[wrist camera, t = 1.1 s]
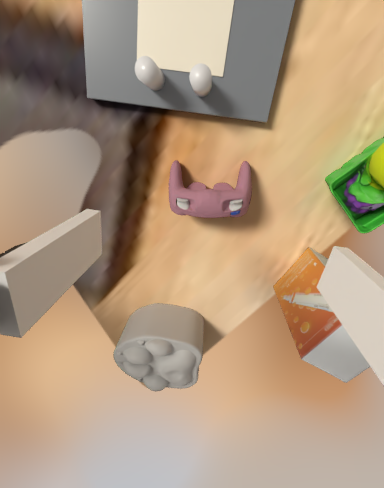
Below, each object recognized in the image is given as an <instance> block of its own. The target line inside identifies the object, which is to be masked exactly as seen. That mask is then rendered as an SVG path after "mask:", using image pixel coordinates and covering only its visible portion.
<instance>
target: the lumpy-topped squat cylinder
mask: <svg viewBox="0 0 384 488" xmlns="http://www.w3.org/2000/svg"><path fill="white" fill-rule="evenodd" d="M203 331H204V319H203V317H202V316H201V315H200V314H199V313H198V312H197V311H195V310H193V309H190V308H186V307H181V306H177V305H170V304H160V303H157V304H151V305H147V306H144V307H142V308H139V309H137V310H136V311H135V312H134V313H132V314H131V316H130V317H129V319H128V322H127V324H126V326H125V328H124V330H123V332H122V335H121V337H120V339H119V341H118V344H117V346H116V348H115V350H114V359H115V362H116V363H117V365H118V366H119V367H120V368H121V369H122V370H123V371H124V372H125V373H126V374H128V375H129V376H131V377H133V378H134V379H136V380H138V381H140V382H143V383H144V384H145V385H146V387H147V388H149V389H150V390H152V391H161V390H163V389H164V388H165V387H170V388H188V387H190V386H192V385H194V384H195V383H196V382H197V380H198V371H199V365H200V363H201V360H202V352H203Z"/></svg>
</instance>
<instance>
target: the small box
mask: <svg viewBox="0 0 384 488" xmlns="http://www.w3.org/2000/svg"><path fill="white" fill-rule="evenodd" d="M327 261H328V259H327V258H326V257H324V256H322V255H321V254H319V253H318V252H316V251H314V250H313V249H311V248H309V247H308V248H307V249H306V251H305V252H304V253H303V254H302V255H301V257H300V258H299V259H298V260H297V261H296V262H295V263H294V264H293V266H292V267H291V268H290V269H289V270H288V271H287V272H286V273H285V274H284V275H283V276H282V278H281V279H280V280H279V281H278V282H277V283H276V284H275V285H274V286H273V288H274V290H275V293H276V296H277V298H278V301H279V303H280V306H281V308H282V311H283V314H284V316H285V318H286V321H287V324H288V326H289V329H290V331H291V334H292V337H293V339H294V342H295V344H296V347H297V349H298V352H299V354H300V357H301V359H302V360H304V361H306V362H308V363H310V364H312V365H313V366H316V367H317V368H320V369H321V370H323V371H325V372H327V373H329V374H331V375H333V376H334V377H336V378H338V379H340V380H342V381H343V382H348V381H350V380H351V379H353V378H354V377H356V376H357V375H359V374H360V373H361V372H363V371H364V370H366V369H367V368H369V367H370V365H369V364H368V362H367V361H366V359H365V358H364V356H363V355H362V353H361V352H360V350H359V349H358V347H357V346H356V344H355V343H354V342H353V340H352V339H351V337H350V336H349V334H348V333H347V331H346V330H345V328H344V327H343V325H342V324H341V322H340V321H339V319H338V318H337V317H336V315H335V314H334V312H333V311H332V309H331V308H330V306H329V305H328V303H327V302H326V300H325V299H324V297H323V296H322V294H321V293H320V291H319V290H318V289H317V285H318V283H319V280H320V278H321V275H322V273H323V271H324V268H325V266H326V264H327Z"/></svg>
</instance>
